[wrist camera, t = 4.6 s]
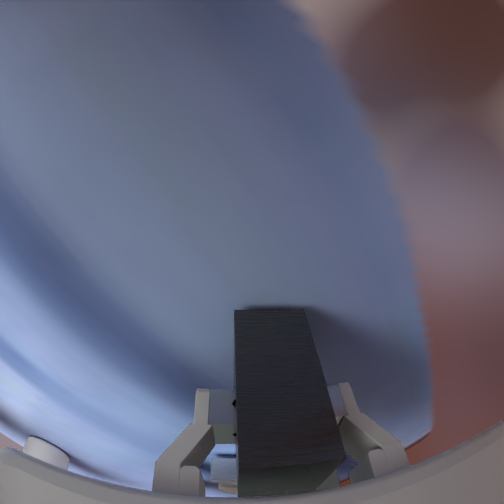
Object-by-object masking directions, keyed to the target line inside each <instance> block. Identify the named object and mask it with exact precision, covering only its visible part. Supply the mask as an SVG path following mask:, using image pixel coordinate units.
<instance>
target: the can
mask: <svg viewBox="0 0 504 504" xmlns="http://www.w3.org/2000/svg"><path fill="white" fill-rule="evenodd" d="M23 452H24V453H26V454H28V455H30V456H32V457H35V458H37V459H39V460H42V461H44V462H47V463H49V464H52V465H54V466H57V467H60V468H62V469H65V470H68V466H69V462H70V459H69V458H68V455H67V454H66V453H65V452H64V451H63V450H61V449H60V448H58V447H57V446H55V445H53V444H51V443H49V442H48V441H46V440H43V439H41V438H39V437H36V436H30V437H28V439H27V441H26V444H25V447H24V450H23Z"/></svg>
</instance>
